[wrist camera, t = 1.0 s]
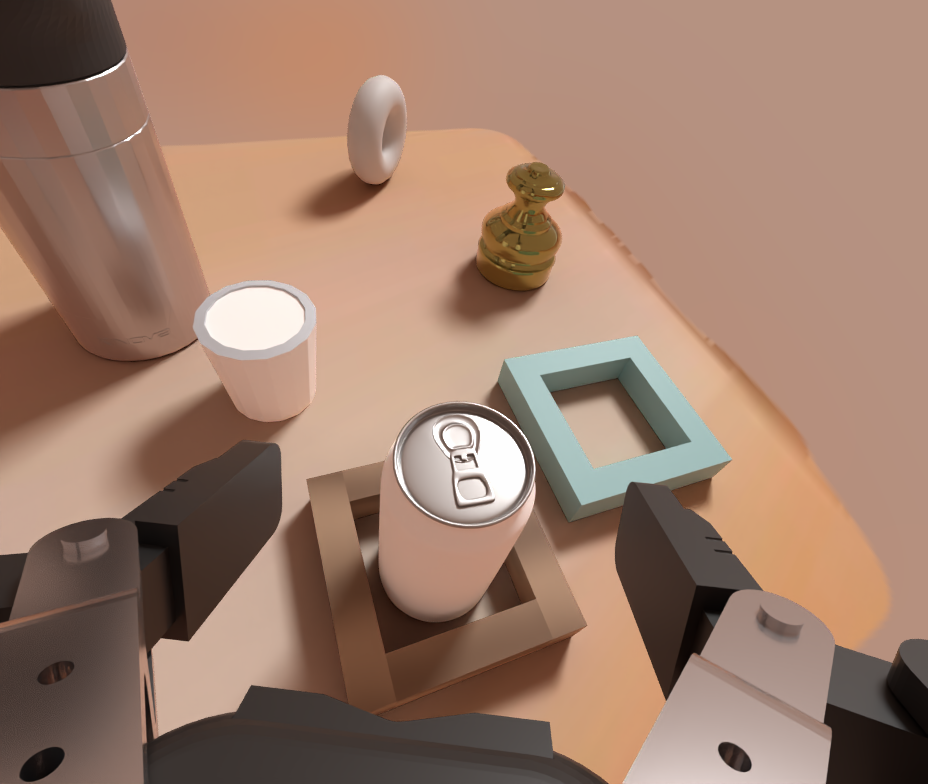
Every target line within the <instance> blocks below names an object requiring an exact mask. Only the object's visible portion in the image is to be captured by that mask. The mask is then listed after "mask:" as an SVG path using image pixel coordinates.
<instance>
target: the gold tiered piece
mask: <svg viewBox="0 0 928 784" xmlns="http://www.w3.org/2000/svg"><path fill="white" fill-rule="evenodd" d="M506 182H507V184H508V186H509V188H510V189H511V190H512V191H513V192H514V194H515V200H514V201H512V202H510V203H507V204H505V205H503V206H500V207H497V208H495V209H493V210H491V211H490V212H489V213H488V214H487V215H486V216H485V217H484V219H483V222H482V236H481V237H480V239H479V242H478V251H477V256H476V264H477V267H478V269H479V271H480V272H481V274H482V275H483V276H484V277H485V278H486V279H488V280H489V281H490V282H492V283H494V284H496V285H498V286H500V287H503V288H506V289H510V290H518V291H524V290H531V289H535V288H538V287H540V286H541V285H543V284H544V283H545V282H546V281H547V280H548V278H549V275H550V272H551V269H552V266H553V265H554V263H555V259H556V257H555V254H556V253H557V251H558V250H559V248H560V246H561V243H562V233H561V230H560V228H559V226H558V225H557V223H556V222H555V221H554V220H553V219H552V218H551V216H550V215H549V213H548V212H547V211H546V209H545V205H546V204H547V203H548V202H550V201H553V200H556V199H558V198H559V197H561V196H562V194H563V193H564V190H565V183H564V181H563V179H562V178H561V177H560V176H559V175H558V174H557V173H556V172H555V171H554V170H552V169H550V168H549V167H548V166H547V165H545V164H543V163H539V162H533V163H525V164H520V165H517V166H514V167H512V168H511V169H510V170H509V171H508V173H507V176H506Z"/></svg>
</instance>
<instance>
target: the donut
mask: <svg viewBox="0 0 928 784" xmlns="http://www.w3.org/2000/svg"><path fill="white" fill-rule="evenodd" d="M406 127H407V111H406V104H405V98H404V96H403V93H402V91H401V89H400V87H399V85H398V84H397V83H396V82H395V81H393V80H392V79H391V78H389V77H387V76H385V75H379V76H375V77H372V78H369V79H368V80H367V81H366V82H365V83H364V84H363V85H362V86H361V87H360V89H359V90H358V93H357V95H356V97H355V99H354V102H353V105H352V109H351V113H350V116H349V123H348V133H347V146H348V154H349V160H350V162H351V165H352V168H353V170H354V172H355V173H356V174H357V176H358V177H359V178H360V179H361V180H362V181H364V182H366V183H369V184H381V183H383V182H384V181H386V180H387V179H388V178H390V177H391V175H392V174H393V172H394V171H395V169H396V167H397V165H398V163H399V160H400V158H401V155H402V151H403V148H404V142H405V137H406Z"/></svg>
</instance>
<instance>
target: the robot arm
mask: <svg viewBox="0 0 928 784" xmlns="http://www.w3.org/2000/svg"><path fill="white" fill-rule="evenodd" d="M0 227H1V229H2V230H3V232H4V233H5V235H6V236H7V238H8V239H9V241H10V242H11V244H12V245H13V246H14V248H15V249H16V251H17V252H18V254H19V255H20V257H21V258H22V260H23V261H24V263H25V264H26V266H27V267H28V269H29V270H30V272H31V273H32V275H33V276H34V278H35V279H36V281H37V282H38V284H39V285H40V286H41V288H42V289H43V291H44V292H45V294H46V295H47V297H48V299H49V300H50V302H51V303H52V305H53V306H54V307H55V309H56V310H57V312H58V313H59V315H60V316H61V318H62V319H63V321H64V322H65V324H66V325H67V326H68V328H69V329H70V331H71V332H72V334H73V335H74V337H75V338H76V340H77V341H78V343H79V344H80V345H81V346H82V347H83V348H85V349H86V350H87V351H88V352H91V353H93V354H95V355H97V356H99V357H103V358H107V359H112V360H121V361H137V360H147V359H152V358H156V357H161V356H164V355H167V354H170V353H172V352H175V351H177V350H179V349H181V348H183V347H185V346H187V345H189V344H190V343H191V342H193V341H194V340H195V339H197V335H196V333H195V331H194V329H193V323H194V317H195V312H196V310H197V309H198V308H199V307H200V305H201V304H202V303H203V302H204V301H205V299H206V298H207V297H208V296H210V293H209V290H208V287H207V284H206V281H205V278H204V275H203V272H202V269H201V266H200V262H199V259H198V256H197V253H196V250H195V247H194V244H193V242H192V239H191V236H190V233H189V230H188V227H187V224H186V221H185V218H184V215H183V212H182V209H181V206H180V203H179V200H178V197H177V194H176V191H175V188H174V185H173V182H172V179H171V176H170V173H169V170H168V167H167V164H166V161H165V158H164V155H163V152H162V149H161V146H160V144H159V140H158V137H157V135H156V132H155V129H154V126H153V123H152V120H151V117H150V114H149V111H148V108H147V106H146V103H145V100H144V97H143V94H142V91H141V88H140V85H139V82H138V79H137V76H136V73H135V70H134V67H133V64H132V61H131V59H130V55H129V52H128V50H127V47H126V43H125V40H124V37H123V34H122V31H121V28H120V26H119V22H118V20H117V17H116V14H115V11H114V8H113V5H112V2H111V0H0ZM281 512H282V480H281V452H280V448H279V446H278V445H277V444H276V443H266V442H257V441H247V440H243V441H240V442H239V443H238V444H236V445H235V446H234V447H232V448H231V449H230V450H228V451H227V452H226V453H224V454H223V455H222V456H220V457H219V458H215V459H213V460H210V461H208V462H205V463H202V464H200V465H197V466H195V467H193V468H191V469H190V470H189V471H187V472H186V473H184V474H183V475H182V476H180V477H179V478H177V481H173V482H172V483H170V484H169V485H168V486H166V487H165V488H164V490H163V491H159V492H158V493H156V494H155V495H154V496H152V497H151V498H149V499H148V500H147V501H145V502H144V503H142V504H141V505H140V506H138V507H137V508H135V509H134V510H133V511H131V512H130V513H128V514H127V515H126V516H124V517H123V518H121V519H117V518H101V519H92V520H87V521H82V522H78V523H74V524H71V525H68V526H65V527H62V528H60V529H58V530H55V531H53V532H51V533H49V534H48V535H46V536H44V537H43V538H41V539H40V540H38V541H37V542H36V543H35V544H34V545H33V546H32V547H31V548H30V550H29V552H28V553H21V554H9V555H0V784H608V783H607V782H606V781H605V780H604V779H602V778H601V777H600V776H598V775H597V774H595V773H594V772H592V771H591V770H589V769H588V768H586V767H585V766H583V765H581V764H580V763H578V762H576V761H574V760H572V759H570V758H568V757H566V756H564V755H562V754H559V753H557V752H555V751H553V748H552V740H551V731H550V722H545V721H537V720H529V719H520V718H512V717H504V716H496V715H488V714H480V713H470V714H462V715H454V716H445V717H437V718H429V719H421V720H412V721H404V722H395V721H390V720H387V719H384V718H382V717H379V716H377V715H374V714H372V713H369V712H367V711H364V710H362V709H359V708H357V707H354V706H352V705H349V704H347V703H344V702H342V701H339V700H337V699H334V698H332V697H329V696H327V695H324V694H318V693H310V692H302V691H294V690H285V689H277V688H269V687H261V686H253V685H251V687H250V688H249V690H248V692H247V694H246V695H245V697H244V699H243V701H242V703H241V704H240V706H239V708H238V710H237V711H236V712H232V713H225V714H221V715H216V716H212V717H208V718H204V719H201V720H198V721H195V722H192V723H189V724H186V725H184V726H181V727H179V728H177V729H174V730H172V731H170V732H167V733H165V734H163V735H161V736H158V721H157V706H156V691H155V677H154V662H153V654H152V648H153V646H154V645H155V644H156V643H157V642H158V641H159V640H160V638H164V639H173V640H181V641H189V640H190V639H191V638H192V636H193V635H194V634H195V633H196V631H197V630H198V629H199V628H200V626H201V625H202V624H203V622H204V621H205V620H206V619H207V617H208V616H209V615H210V614H211V612H212V611H213V610H214V608H215V607H216V606H217V605H218V603H219V602H220V601H221V600H222V598H223V597H224V596H225V594H226V593H227V592H228V591H229V589H230V588H231V587H232V586H233V584H234V583H235V582H236V580H237V579H238V578H239V577H240V575H241V574H242V573H243V572H244V570H245V569H246V568H247V566H248V565H249V564H250V563H251V561H252V560H253V559H254V558H255V556H256V555H257V554H258V552H259V551H260V550H261V549H262V547H263V546H264V545H265V544H266V542H267V541H268V540H269V539H270V537H271V536H272V535H273V533H274V532H275V530H276V528H277V526H278V524H279V521H280V517H281ZM615 564H616V569H617V573H618V575H619V578H620V581H621V583H622V586H623V589H624V591H625V594H626V597H627V599H628V602H629V604H630V607H631V610H632V612H633V615H634V618H635V620H636V623H637V626H638V628H639V631H640V633H641V636H642V639H643V641H644V644H645V647H646V649H647V652H648V655H649V657H650V660H651V662H652V665H653V668H654V670H655V673H656V676H657V678H658V681H659V684H660V686H661V689H662V691H663V694H664V697H665V699H666V703H665V705H664V707H663V709H662V711H661V712H660V714H659V716H658V718H657V720H656V722H655V724H654V726H653V727H652V729H651V731H650V733H649V735H648V737H647V739H646V740H645V742H644V744H643V746H642V748H641V750H640V752H639V753H638V755H637V757H636V759H635V761H634V763H633V765H632V767H631V768H630V770H629V772H628V774H627V776H626V778H625V780H624V781H623V783H622V784H928V640H922V639H910V640H906V641H904V642H903V643H901V645H900V647H899V649H898V651H897V654H896V656H895V659H894V661H893V663H890V662H888V661H884V660H881V659H878V658H875V657H871V656H868V655H865V654H862V653H859V652H856V651H853V650H850V649H847V648H843V647H841V646H838V645H835V640H834V638H833V635H832V634H831V632H830V630H829V629H828V628H827V627H826V625H825V624H824V623H823V622H822V621H821V620H820V619H819V618H817V617H816V616H815V615H814V614H812V613H811V612H810V611H808V610H807V609H805V608H804V607H802V606H800V605H798V604H797V603H795V602H793V601H791V600H788V599H786V598H784V597H781V596H779V595H776V594H773V593H769V592H765V591H763V590H762V589H761V587H760V586H759V585H758V583H757V582H756V581H755V580H754V578H753V577H752V576H751V575H750V573H749V572H748V571H747V569H746V568H745V567H744V566H743V564H742V563H741V562H740V561H739V559H738V558H737V557H736V556H735V555H733V554H732V550H731V549H730V548H729V547H728V545H727V544H726V543H725V542H723V541H722V538H721V536H720V535H719V534H718V533H717V531H716V530H715V529H714V528H713V526H712V525H711V524H710V523H709V522H707V521H706V520H705V519H703V518H702V517H700V516H699V515H698V514H696V513H695V512H693V511H692V510H690V509H684V508H683V507H682V505H681V504H680V503H679V501H678V500H677V498H676V497H675V496H674V494H673V493H672V492H671V490H670V489H669V487H668V486H666V485H660V484H650V483H641V482H630V483H629V485H628V487H627V490H626V494H625V499H624V504H623V509H622V514H621V519H620V524H619V529H618V534H617V539H616V545H615Z"/></svg>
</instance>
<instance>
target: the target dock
mask: <svg viewBox="0 0 928 784" xmlns="http://www.w3.org/2000/svg"><path fill="white" fill-rule="evenodd" d="M615 378H618V379H619V381H620V382H621V384H622V385H623V387H624V388H625V389H626V391H627V392H628V394H629V395H630V397H631V398H632V400H633V401H634V403H635V404H636V405H637V407H638V408H639V410H640V411H641V413H642V414H643V416H644V417H645V419H646V420H647V421H648V423H649V424H650V426H651V427H652V429H653V430H654V432H655V433H656V435H657V436H658V438H659V439H660V440H661V442H662V443H663V445H664V446H665V448H666V449H664V450H661V451H657V452H653V453H650V454H646V455H643V456H639V457H635V458H632V459H628V460H625V461H621V462H617V463H614V464H610V465H607V466H603V467H599V468H596V469H593V467H592V465H591V464H590V462H589V460H588V458H587V457H586V455H585V453H584V451H583V450H582V448H581V446H580V444H579V443H578V441H577V439H576V437H575V436H574V434H573V432H572V430H571V429H570V427H569V425H568V423H567V422H566V420H565V418H564V416H563V415H562V413H561V411H560V409H559V408H558V406H557V404H556V402H555V401H554V399H553V397H552V395H551V394H550V392H554V391H558V390H563V389H568V388H573V387H577V386H582V385H587V384H592V383H596V382H601V381H606V380H611V379H615ZM498 383H499V385H500V387H501V389H502V391H503V393H504V395H505V397H506V399H507V401H508V403H509V405H510V407H511V409H512V411H513V413H514V415H515V417H516V419H517V421H518V423H519V425H520V427H521V429H522V431H523V433H524V435H525V437H526V438H527V440H528V442H529V444H530V446H531V448H532V451H533V453H534V455H535V457H536V459H537V461H538V463H539V465H540V466H541V468H542V470H543V472H544V474H545V476H546V478H547V480H548V482H549V484H550V486H551V488H552V490H553V492H554V494H555V496H556V498H557V500H558V502H559V504H560V506H561V508H562V510H563V512H564V514H565V516H566V518H567V520H568V522H572V521H575V520H578V519H581V518H585V517H588V516H591V515H594V514H597V513H601V512H604V511H607V510H610V509H613V508H616V507H620V506H623V504H624V499H625V494H626V490H627V487H628V485H629V483H630V482H641V483H650V484H660V485H666V486H668V487H669V489H670V490H674V489H677V488H680V487H683V486H687V485H690V484H693V483H696V482H699V481H703V480H706V479H709V478H712V477H713V476H714V475H716V474H717V473H718V472H719V471H720V470H721V469H722V468H723V467H725V466H726V465H727V464H728V463H729V462H730V461H731V460H732V459H731V457H730V456H729V455H728V453H727V452H726V451H725V450H724V448H723V447H722V446H721V444H720V443H719V442H718V440H717V439H716V438H715V437H714V435H713V434H712V433H711V431H710V430H709V429H708V427H707V426H706V425H705V423H704V422H703V421H702V420H701V418H700V417H699V416H698V414H697V413H696V412H695V410H694V409H693V408H692V406H691V405H690V404H689V403H688V401H687V400H686V399H685V397H684V396H683V395H682V393H681V392H680V391H679V389H678V388H677V387H676V386H675V384H674V383H673V382H672V380H671V379H670V378H669V376H668V375H667V374H666V372H665V371H664V370H663V369H662V367H661V366H660V365H659V363H658V362H657V361H656V359H655V358H654V357H653V355H652V354H651V353H650V352H649V350H648V349H647V348H646V346H645V345H644V344H643V342H642V341H641V340H640V338H639V337H638V336H633V337H627V338H622V339H616V340H611V341H605V342H599V343H594V344H588V345H583V346H577V347H571V348H566V349H560V350H555V351H549V352H543V353H538V354H532V355H527V356H521V357H515V358H510V359H504V362H503V365H502V369H501V372H500V375H499V378H498Z"/></svg>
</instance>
